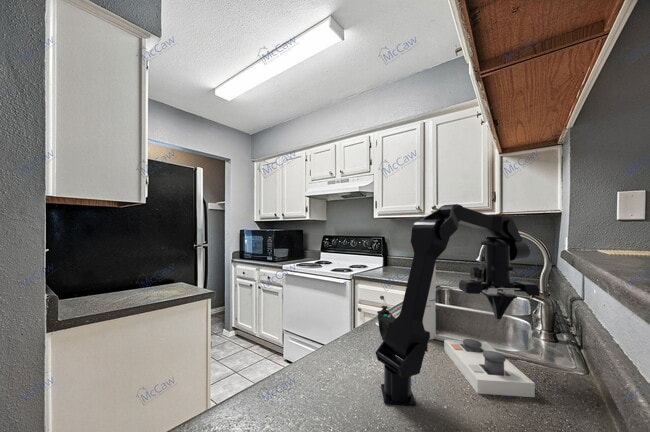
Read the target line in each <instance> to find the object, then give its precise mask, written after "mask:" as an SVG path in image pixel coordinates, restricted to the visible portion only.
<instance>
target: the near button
mask: <svg viewBox="0 0 650 432" xmlns="http://www.w3.org/2000/svg"><path fill="white" fill-rule="evenodd" d="M483 356H484V357H485V372H486V373H487V374H488V375H500V376H504V362H505V360H506V359H507V358H506V355H505V354H503V353H501V352H499V351H497V352H495V351H484V352H483Z"/></svg>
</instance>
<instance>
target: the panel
mask: <svg viewBox="0 0 650 432" xmlns="http://www.w3.org/2000/svg"><path fill="white" fill-rule="evenodd" d="M480 342H481V344H482V347H480V352H467V351H466V350H465V349H464V344H463V340H455V339H444V341H443V345H444V346H443V349H444V352H445V353H446V354H447V355H448V357H449V358H450V359H451V360H452V362H453V363H454V365H455V366H456V367H457V369H458V370H459V371H460V373H461V374H462V375H463V376H464V378H465V379H466V381H467V382H468V383H469V385H470V386H471V387H472V388H473V389H474V391H475V392H476V393H477V394H478V395H479V394H481V395H492V396H493V395H494V396H495V395H496V396H509V397H511V396H512V397H527V398H536V396H535V395H536V389H535V388H536V386H535V385H536V383H535V382H534V381H533V380H531V379H530V378H529V377H528V376H527V375H526V374H524V373H523V372H522V371H521V370H519V368H517V367H516V366H515V365H514V364H513V363H511V361H509V360H508V359H507V358H506V360H505V362H504V376H500V375H488V374H487V373H486V372H485V357H484V356H483V352H484V351H495V352H498V350H496V349H495V348H494V347H493V346H492V345H490V344H489V343H488V342H486V341H480Z"/></svg>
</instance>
